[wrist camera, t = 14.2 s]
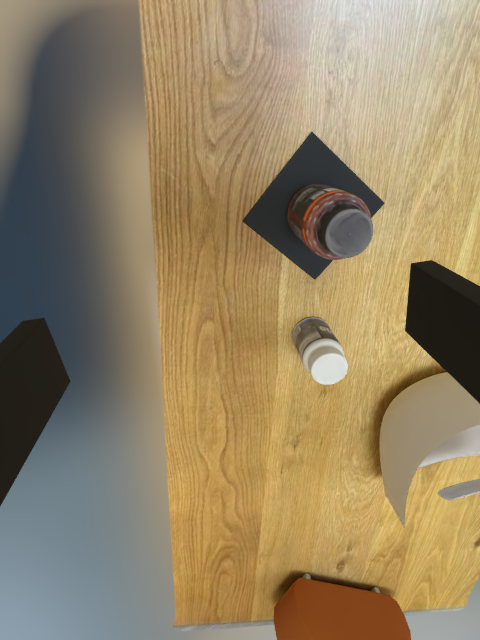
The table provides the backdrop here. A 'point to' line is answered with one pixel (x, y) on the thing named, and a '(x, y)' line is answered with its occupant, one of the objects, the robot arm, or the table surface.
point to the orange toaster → (337, 613)
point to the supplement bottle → (330, 221)
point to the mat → (301, 171)
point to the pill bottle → (320, 351)
